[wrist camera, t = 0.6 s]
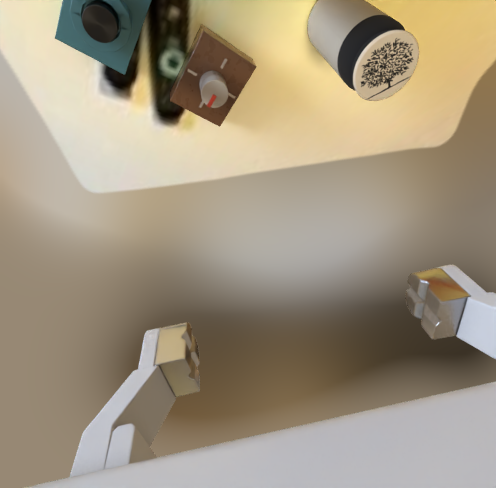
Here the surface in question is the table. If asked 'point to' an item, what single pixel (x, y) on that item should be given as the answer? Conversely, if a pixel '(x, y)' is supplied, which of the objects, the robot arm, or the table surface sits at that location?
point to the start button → (100, 22)
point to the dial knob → (213, 89)
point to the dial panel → (211, 59)
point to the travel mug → (363, 46)
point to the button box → (111, 54)
